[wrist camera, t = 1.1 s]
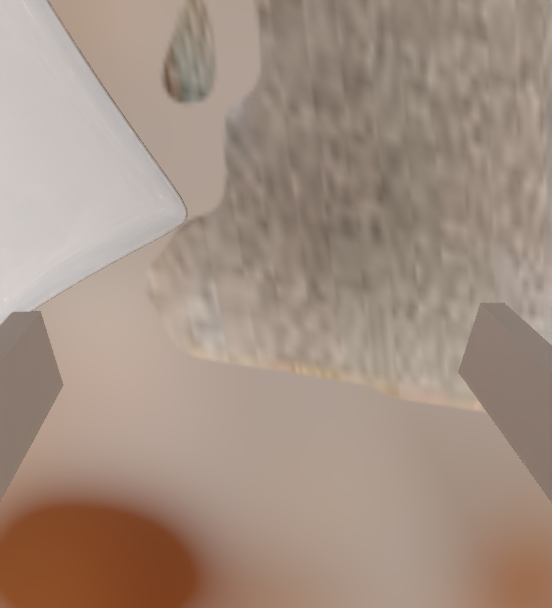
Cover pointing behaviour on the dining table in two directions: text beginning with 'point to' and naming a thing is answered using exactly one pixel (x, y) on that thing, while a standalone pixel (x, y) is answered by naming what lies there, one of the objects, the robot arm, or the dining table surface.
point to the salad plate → (66, 166)
